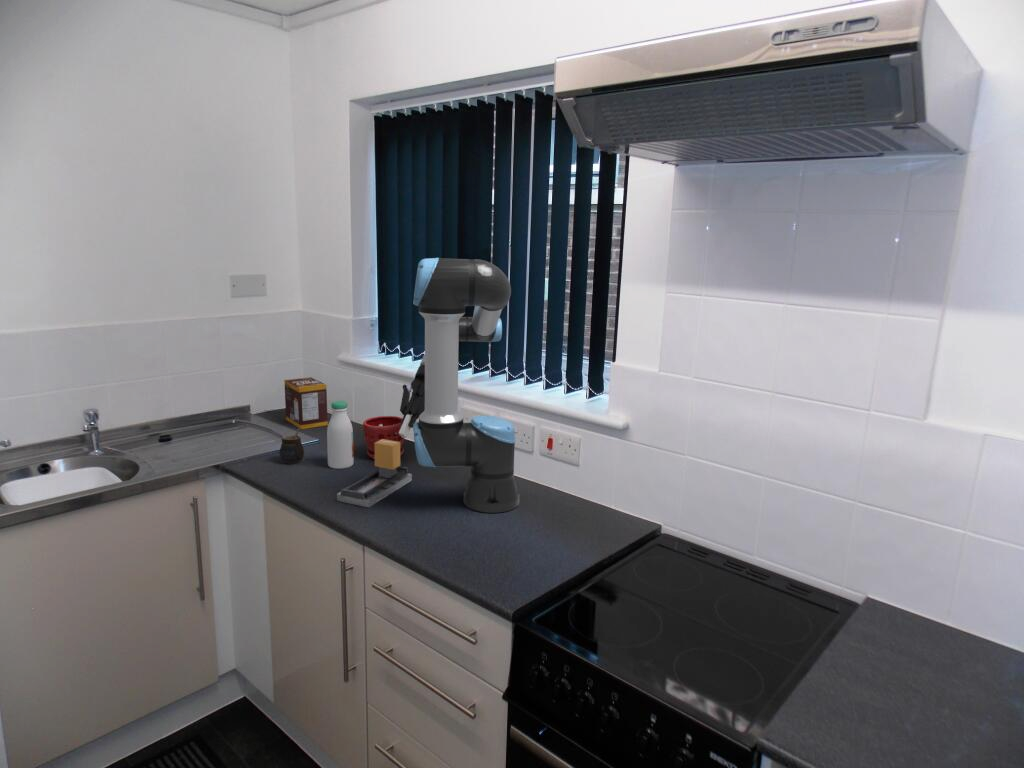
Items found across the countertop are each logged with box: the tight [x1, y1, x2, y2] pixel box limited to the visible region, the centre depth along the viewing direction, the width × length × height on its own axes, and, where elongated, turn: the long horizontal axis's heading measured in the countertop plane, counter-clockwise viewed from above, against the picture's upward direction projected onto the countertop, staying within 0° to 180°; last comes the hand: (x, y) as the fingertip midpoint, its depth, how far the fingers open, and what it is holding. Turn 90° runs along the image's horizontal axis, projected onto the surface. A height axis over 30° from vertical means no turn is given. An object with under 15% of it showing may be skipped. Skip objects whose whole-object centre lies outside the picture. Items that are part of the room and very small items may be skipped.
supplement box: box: [284, 376, 329, 430], centre depth 248 cm, size 10×15×16 cm
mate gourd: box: [278, 427, 305, 465], centre depth 206 cm, size 7×8×10 cm
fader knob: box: [374, 439, 401, 478], centre depth 191 cm, size 4×6×10 cm, turn 68°
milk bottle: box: [326, 400, 355, 470], centre depth 203 cm, size 8×8×20 cm
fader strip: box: [336, 465, 413, 509], centre depth 186 cm, size 23×10×4 cm, turn 158°
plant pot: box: [362, 415, 405, 460], centre depth 214 cm, size 13×13×12 cm
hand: (402, 435), depth 198 cm, fingers closed
